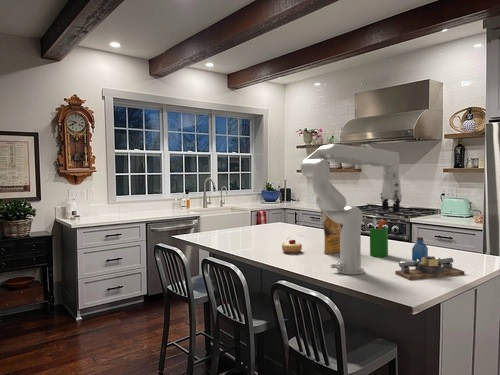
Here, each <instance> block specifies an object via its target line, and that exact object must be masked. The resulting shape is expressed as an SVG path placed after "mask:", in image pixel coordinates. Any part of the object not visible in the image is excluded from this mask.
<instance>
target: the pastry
mask: <svg viewBox="0 0 500 375" xmlns="http://www.w3.org/2000/svg"><path fill="white" fill-rule="evenodd" d="M288 239H289V237H287V238H286V241H287V240H288ZM302 246H303V245H302V243H300V242H297V241H296V240H295V239H291V240H290V239H289V240H288V241H287V242H283V243H282V244H281V249H282V251H283V252H285V254H289V253H295V254H299V253H301V252H302V249H303V247H302Z"/></svg>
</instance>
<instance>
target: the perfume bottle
mask: <svg viewBox="0 0 500 375" xmlns="http://www.w3.org/2000/svg"><path fill="white" fill-rule="evenodd" d="M415 242H416V243H415V244H414V246H412V248H411V261H416V260H420V262H421V257H425V256H429V254H428V253H429V251H428V250H429V247H428V246H427V245H426V243H424V237H419V236H418V237H416V240H415Z"/></svg>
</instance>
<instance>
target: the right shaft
mask: <svg viewBox="0 0 500 375" xmlns="http://www.w3.org/2000/svg"><path fill="white" fill-rule="evenodd" d="M435 258H436V259H438V265H439V266H442V267H444V268H446V269H452V267H453V263H454V259H453V258H452V257H447V258H446V257H445V258H440V257H435Z"/></svg>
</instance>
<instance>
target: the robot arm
mask: <svg viewBox="0 0 500 375" xmlns="http://www.w3.org/2000/svg"><path fill="white" fill-rule="evenodd" d="M329 163H339V164H346V165H355V166H358V165H359V166H361V165H364V166H365V165H366V166H367V165H369V166H371V167H375V168H376V167H378V168H379V167H382V186H381V193H380V200H381V210H382V211H388V210H389V202H388V201H389V200H392V202H393V203H392V212H393V213H399V212H400V204H401V201H402V198H403V194H402V191H401V190H402V189H401V182H400V153H399V152H397V151H392V150H391V151H390V150H386V149H382V148H380V149H379V148H370V147H369V148H368V147H363V146H361V147H360V146H353V145H346V144H340V143H339V144H338V143H330V144H324V145H323V144H322V145H321V146H320V147H319V148H317V149H316V150H314V151H313V152H312V153H311V154H310V155H308V156H307V157H306V158H305V159H304V160H303V161H302V163H301V165H300V171H301V174H302V175H303V176H305V177H307V178H312V190H313V192H314V193H315V195H316V200H315V201H316V206H317V207H318V209H320V211H321V210H322V211H323V212H324V213H325V214H326V215H327V216H328V217H329V218H330V219H331V220H332V221H334V222H335V223H339V224H340V225H342V226H341V232H340V252H339V253H340V254H339V256H340V257H339V259H340V260H339V261H337V263H336V264H335V263H331V264H330V268H331V269H336V272H338V273H340V274H342V275H343V274H345V275H348V276H349V275H356V276H357V275H361V274H364V273H365V269H364V268H363V267H362V264H361V260H362V258H361V256H362V253H361V252H362V247H361V246H362V245H361V243H362V239H361V236H362V235H361V234H362V224H363V219H364V217H363V212H362V210H361V209H360V208H359V207H357V206H354V205H350V204H349V205H348V204H347V199H346V197H345V196H344V195H343V194H342V193H341V191H339V190H338V188H336V186H334V185H333V183H332V182H331V180H330V170H331V168H330V164H329Z"/></svg>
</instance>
